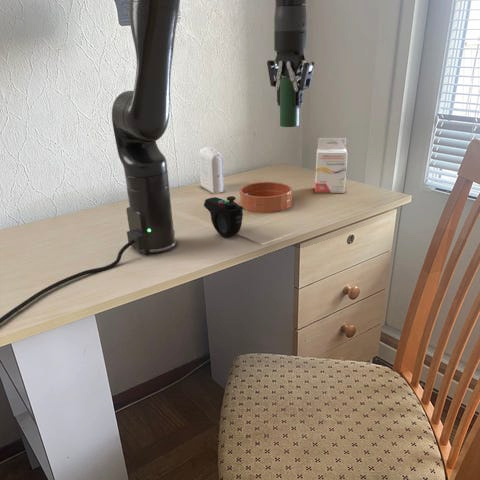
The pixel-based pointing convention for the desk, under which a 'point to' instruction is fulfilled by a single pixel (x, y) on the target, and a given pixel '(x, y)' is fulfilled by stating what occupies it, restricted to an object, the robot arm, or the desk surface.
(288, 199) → the bowl
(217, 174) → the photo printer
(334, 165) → the ink cartridge box
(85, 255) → the desk surface
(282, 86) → the green cylinder
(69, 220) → the desk surface
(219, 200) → the controller
